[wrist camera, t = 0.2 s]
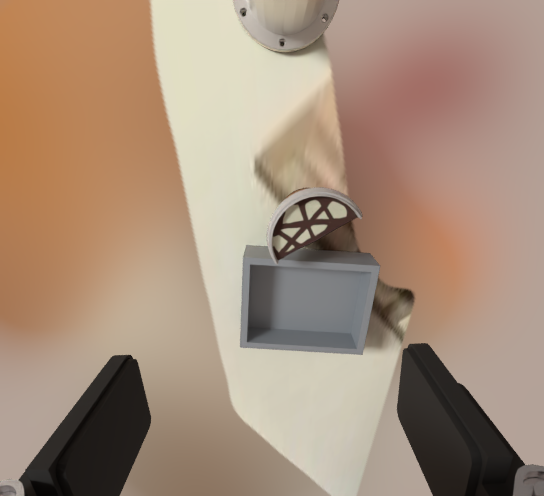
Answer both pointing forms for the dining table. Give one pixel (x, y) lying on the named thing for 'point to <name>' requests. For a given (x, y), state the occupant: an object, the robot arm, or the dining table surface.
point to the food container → (307, 219)
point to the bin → (307, 300)
